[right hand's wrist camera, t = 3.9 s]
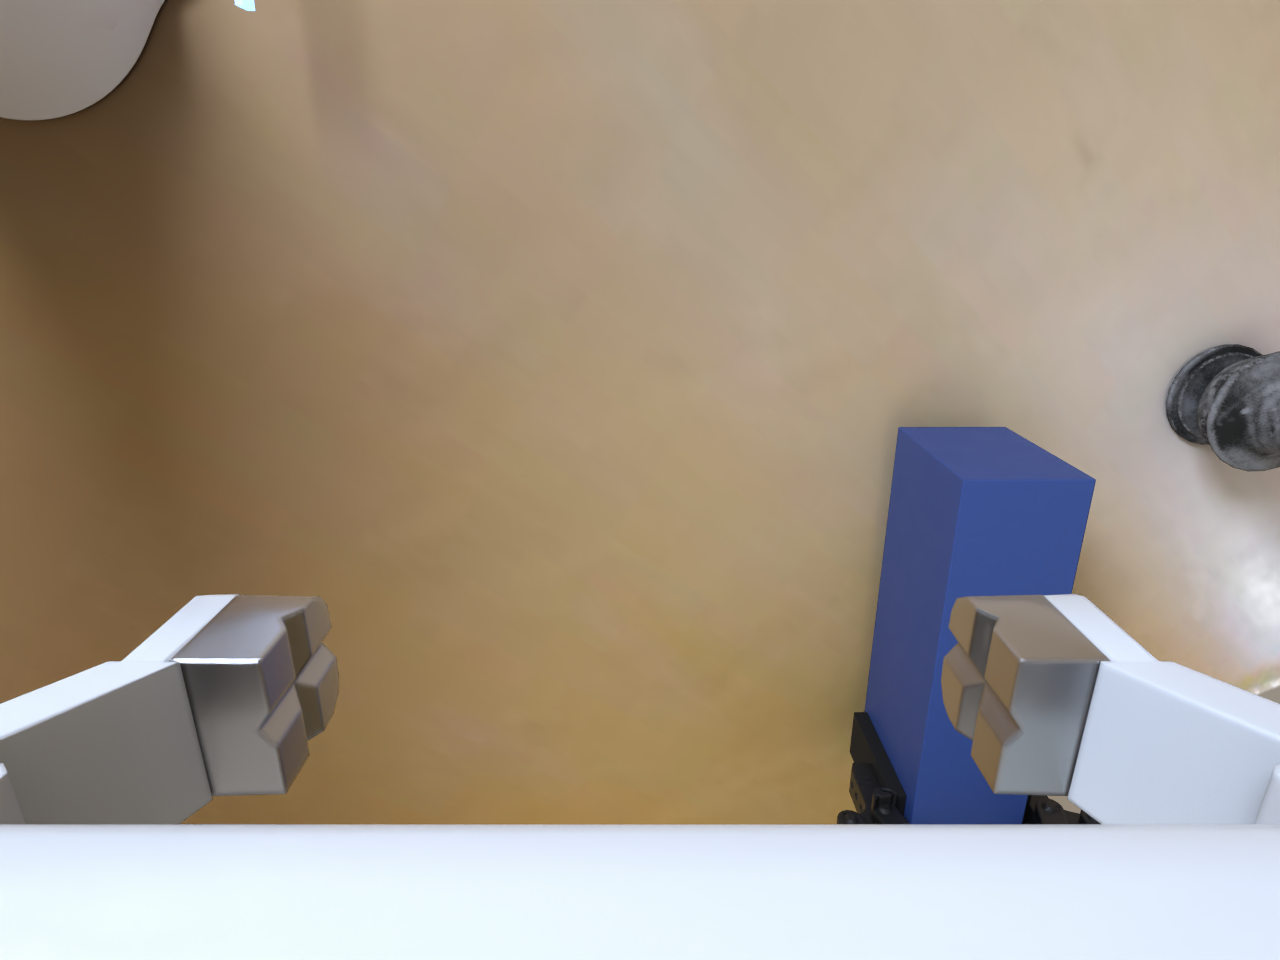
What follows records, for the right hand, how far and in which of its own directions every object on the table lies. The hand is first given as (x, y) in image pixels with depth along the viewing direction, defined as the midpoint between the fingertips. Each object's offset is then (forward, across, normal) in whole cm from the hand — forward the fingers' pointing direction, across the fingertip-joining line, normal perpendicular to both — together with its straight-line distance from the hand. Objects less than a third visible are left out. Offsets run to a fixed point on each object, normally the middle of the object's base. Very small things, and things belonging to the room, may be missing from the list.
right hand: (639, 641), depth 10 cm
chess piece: (+30, +30, -4) cm, 43 cm away
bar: (+28, +16, -16) cm, 36 cm away
